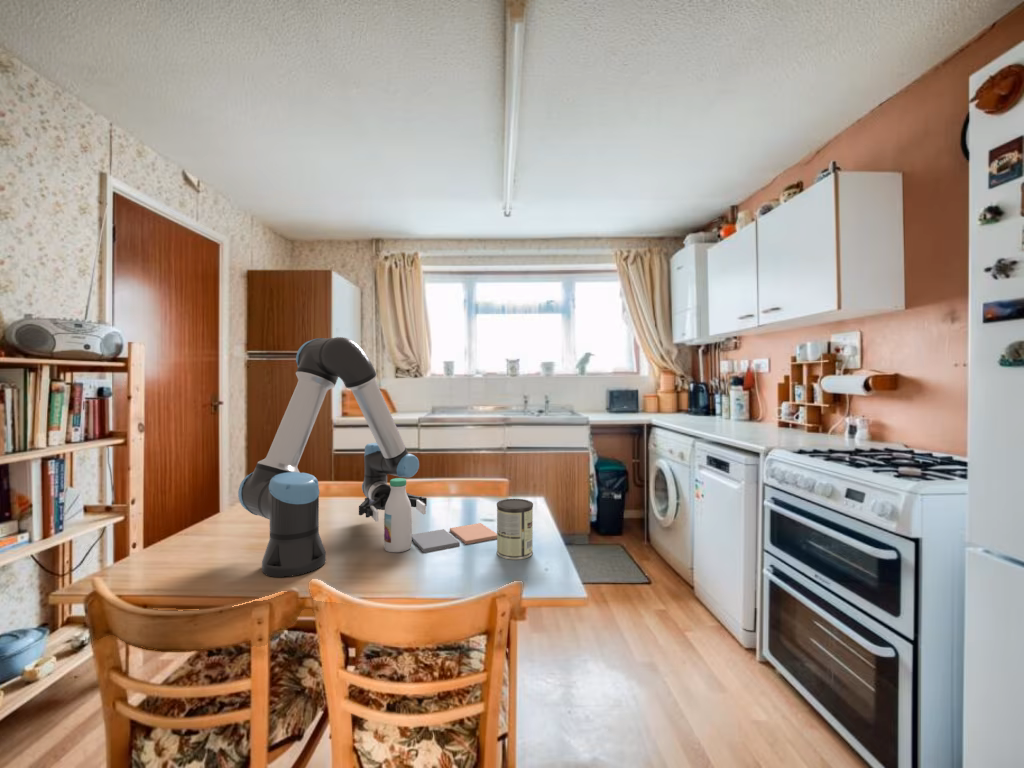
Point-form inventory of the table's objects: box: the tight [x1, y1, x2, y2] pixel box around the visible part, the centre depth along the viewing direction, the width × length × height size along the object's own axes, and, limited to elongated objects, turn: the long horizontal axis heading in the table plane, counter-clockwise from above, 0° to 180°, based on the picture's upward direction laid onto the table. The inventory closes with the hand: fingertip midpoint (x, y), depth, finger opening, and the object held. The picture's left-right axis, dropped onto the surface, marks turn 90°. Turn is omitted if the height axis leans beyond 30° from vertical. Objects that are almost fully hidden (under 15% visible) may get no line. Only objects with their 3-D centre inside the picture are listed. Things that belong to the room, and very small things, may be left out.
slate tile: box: [412, 528, 461, 553], centre depth 138 cm, size 11×13×1 cm
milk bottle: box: [383, 477, 413, 553], centre depth 133 cm, size 8×8×20 cm
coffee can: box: [496, 498, 534, 561], centre depth 130 cm, size 10×10×14 cm
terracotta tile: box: [449, 522, 497, 545], centre depth 144 cm, size 11×13×1 cm
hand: (401, 513), depth 130 cm, fingers open, 13 cm apart
